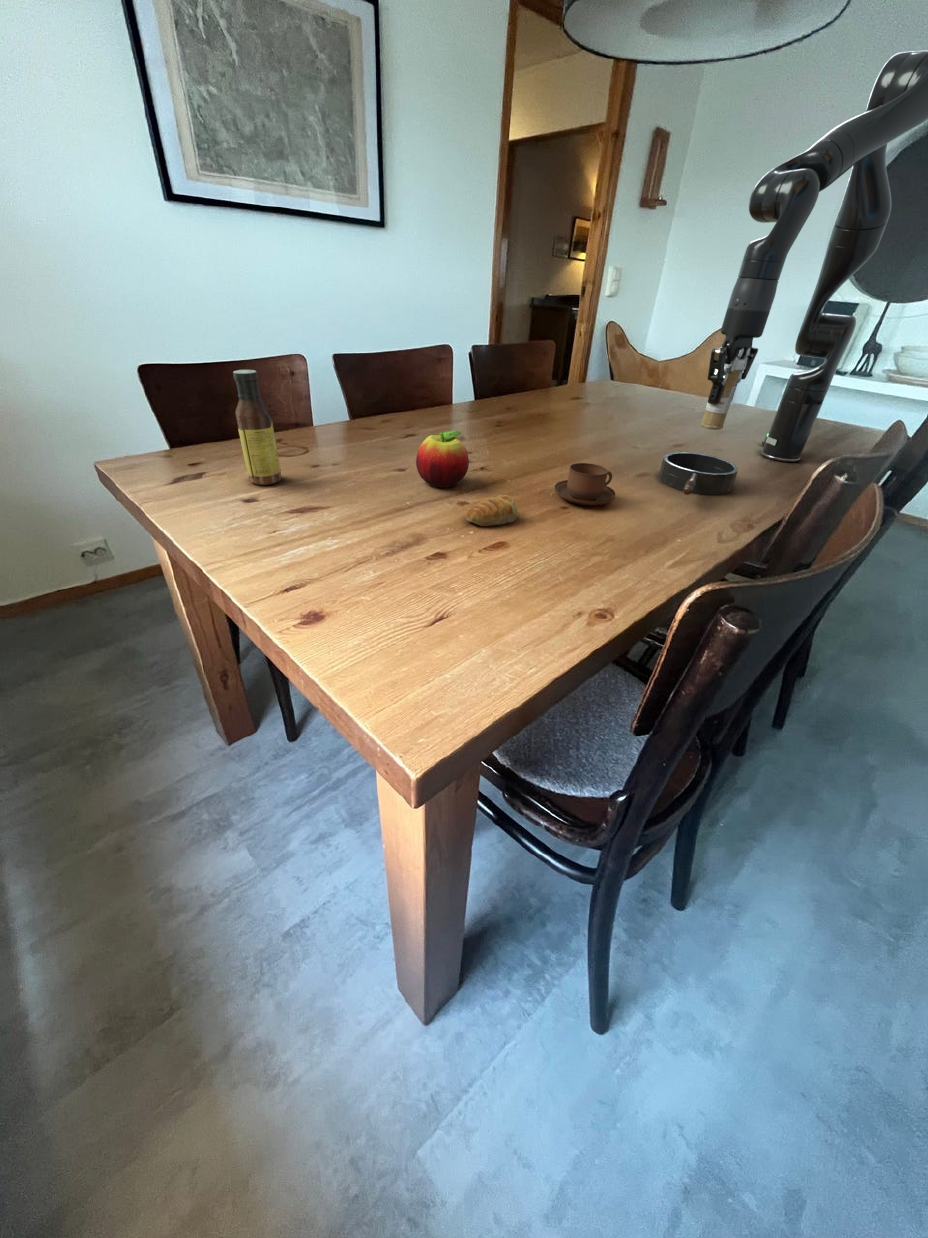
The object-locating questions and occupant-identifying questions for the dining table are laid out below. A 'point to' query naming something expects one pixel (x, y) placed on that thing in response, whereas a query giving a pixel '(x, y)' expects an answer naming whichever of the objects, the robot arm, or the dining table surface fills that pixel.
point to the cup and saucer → (586, 485)
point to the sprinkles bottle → (722, 400)
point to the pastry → (493, 511)
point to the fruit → (442, 460)
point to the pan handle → (690, 484)
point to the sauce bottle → (256, 431)
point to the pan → (698, 472)
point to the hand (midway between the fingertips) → (719, 402)
